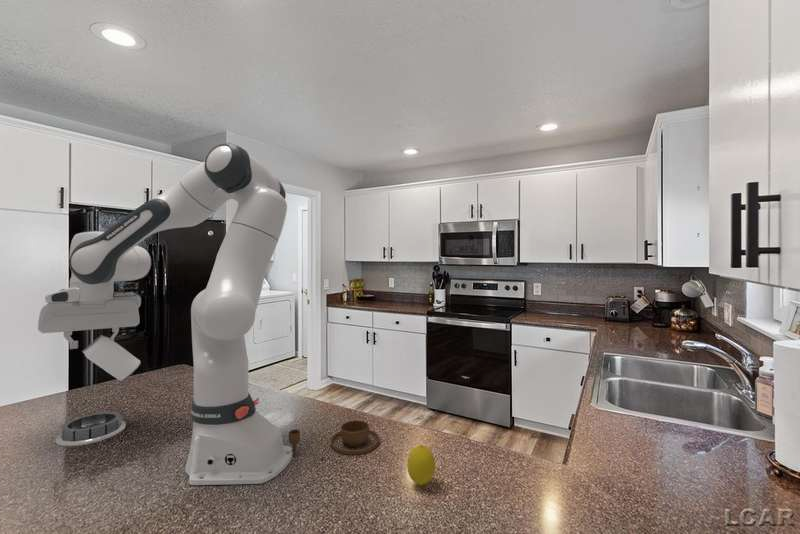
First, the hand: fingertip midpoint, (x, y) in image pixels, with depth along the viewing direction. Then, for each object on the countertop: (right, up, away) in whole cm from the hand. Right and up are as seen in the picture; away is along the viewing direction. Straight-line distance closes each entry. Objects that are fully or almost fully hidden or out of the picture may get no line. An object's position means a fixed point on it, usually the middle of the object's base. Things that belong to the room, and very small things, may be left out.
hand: (92, 346), depth 96 cm
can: (+7, -8, +5) cm, 12 cm away
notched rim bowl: (0, -23, 0) cm, 23 cm away
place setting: (+65, -24, -5) cm, 69 cm away
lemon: (+84, -23, -23) cm, 90 cm away
